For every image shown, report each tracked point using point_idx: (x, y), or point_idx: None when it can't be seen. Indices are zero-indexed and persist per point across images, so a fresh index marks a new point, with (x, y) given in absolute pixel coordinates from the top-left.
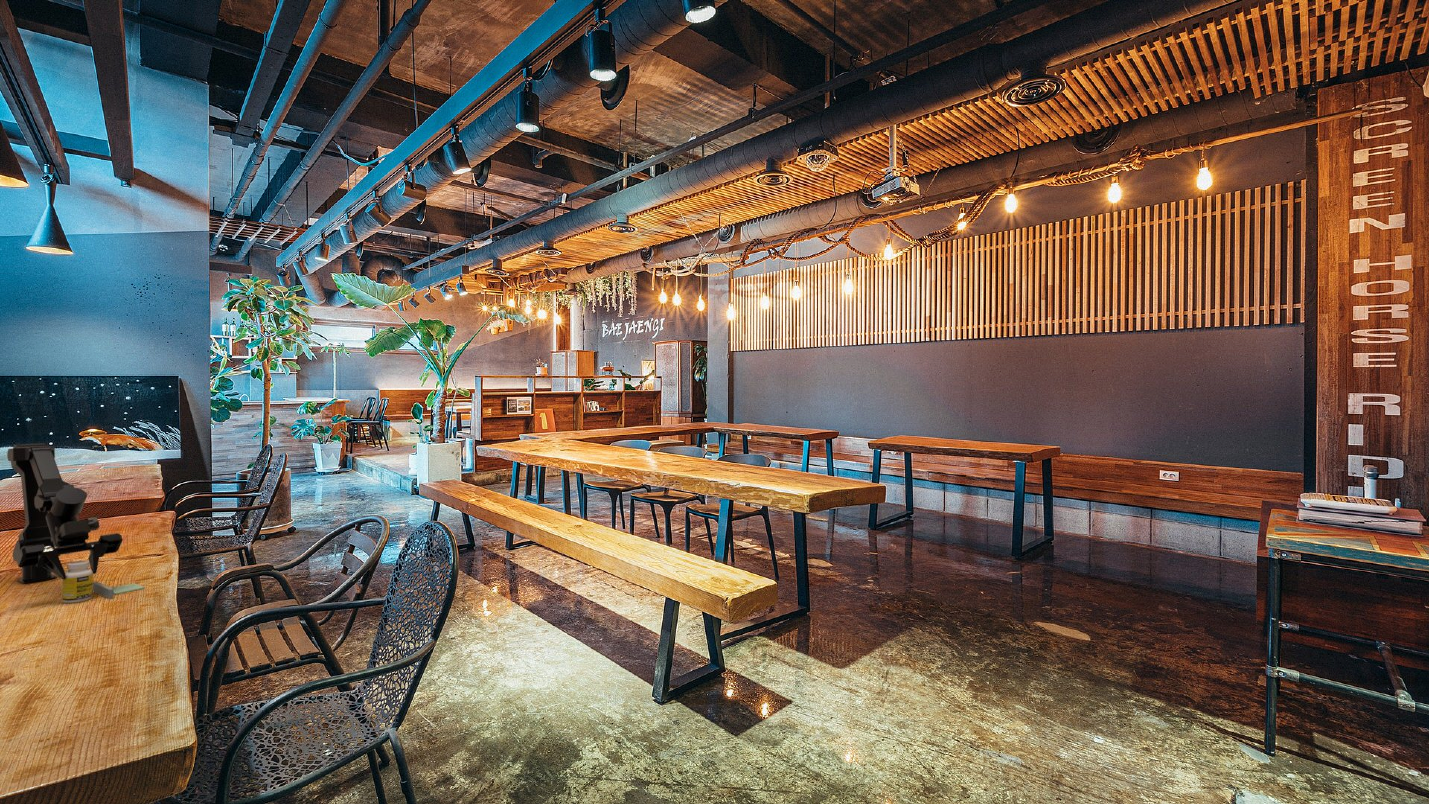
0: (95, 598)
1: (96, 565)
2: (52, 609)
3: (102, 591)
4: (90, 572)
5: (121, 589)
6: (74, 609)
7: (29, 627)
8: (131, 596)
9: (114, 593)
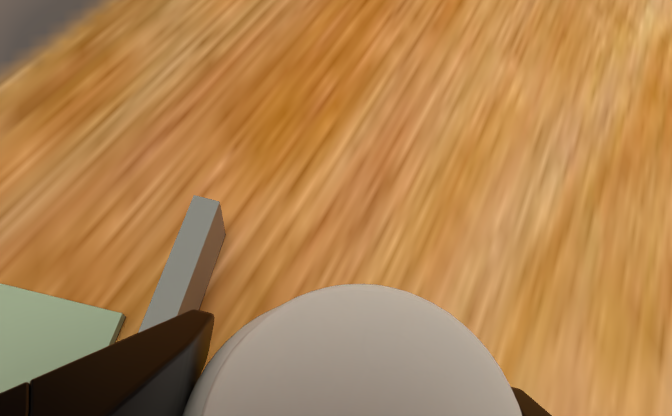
0: None
1: (149, 335)
2: None
3: None
4: (261, 315)
5: None
6: (430, 223)
7: (647, 129)
8: (135, 171)
9: (117, 329)
